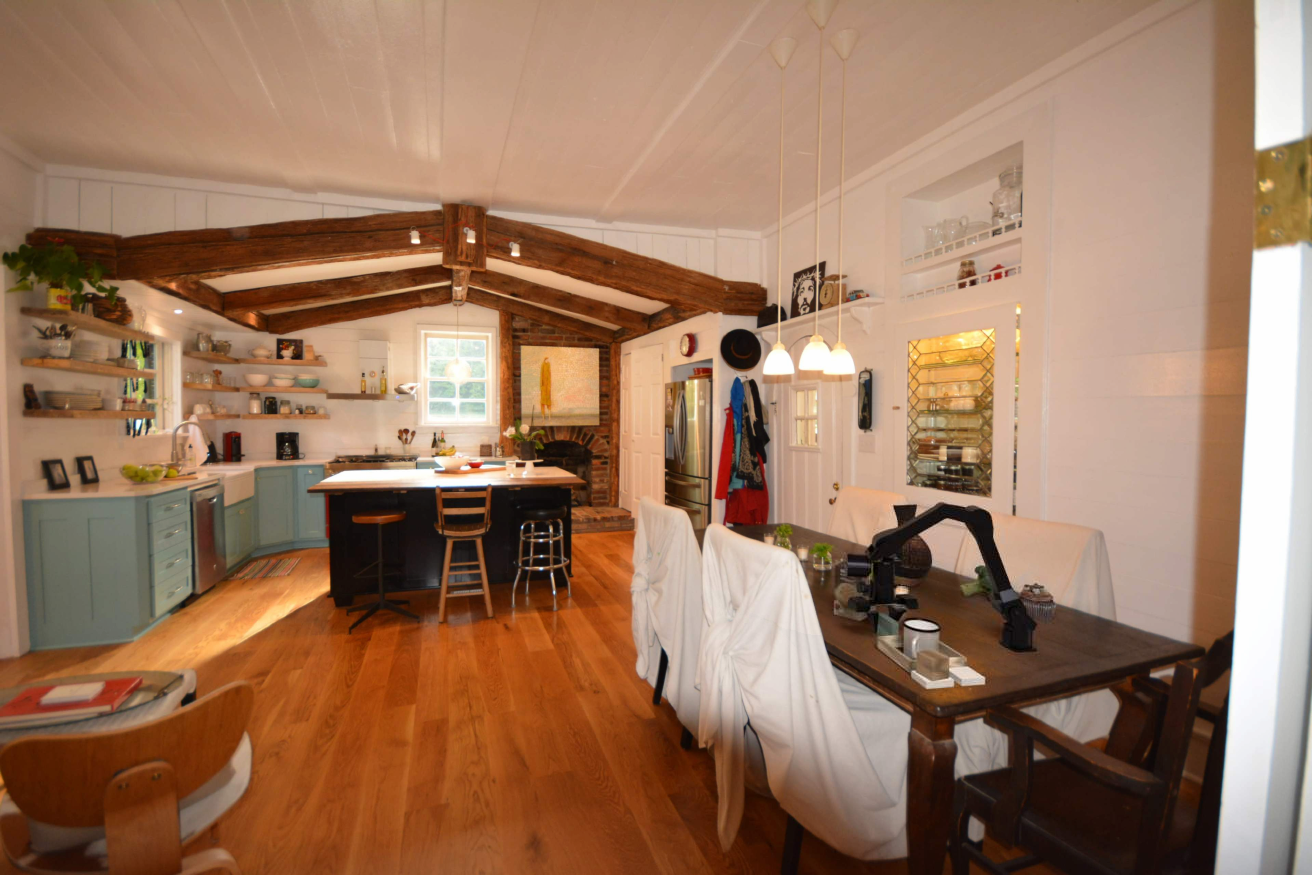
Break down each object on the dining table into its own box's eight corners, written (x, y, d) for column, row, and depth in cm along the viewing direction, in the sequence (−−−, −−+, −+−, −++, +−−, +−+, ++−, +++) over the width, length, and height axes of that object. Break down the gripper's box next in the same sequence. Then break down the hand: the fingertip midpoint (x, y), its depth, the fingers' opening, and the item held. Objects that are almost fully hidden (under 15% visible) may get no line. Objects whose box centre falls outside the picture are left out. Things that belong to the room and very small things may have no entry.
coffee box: (832, 614, 183) (833, 564, 183) (841, 609, 188) (842, 560, 187) (860, 621, 177) (861, 569, 176) (869, 616, 182) (870, 565, 181)
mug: (906, 647, 158) (907, 614, 158) (944, 656, 152) (945, 622, 152) (893, 662, 149) (894, 627, 148) (933, 672, 143) (934, 636, 142)
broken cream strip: (967, 672, 142) (967, 666, 142) (984, 684, 137) (985, 677, 136) (911, 677, 140) (911, 670, 140) (926, 688, 134) (926, 682, 134)
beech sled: (909, 632, 168) (909, 610, 167) (966, 669, 144) (967, 644, 143) (860, 635, 165) (861, 613, 165) (910, 673, 141) (911, 648, 141)
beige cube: (932, 669, 141) (933, 649, 141) (949, 678, 136) (949, 657, 136) (916, 672, 139) (916, 651, 139) (932, 681, 135) (932, 660, 134)
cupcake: (1043, 624, 175) (1044, 591, 174) (1012, 613, 184) (1013, 582, 183) (1063, 619, 179) (1064, 587, 178) (1031, 609, 188) (1032, 578, 187)
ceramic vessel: (920, 595, 202) (922, 510, 201) (871, 585, 214) (872, 504, 212) (939, 582, 217) (941, 502, 216) (892, 573, 229) (893, 498, 228)
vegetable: (959, 582, 210) (1003, 568, 203) (974, 615, 201) (1020, 602, 195) (950, 568, 202) (995, 554, 196) (964, 602, 193) (1012, 587, 187)
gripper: (897, 569, 173) (897, 620, 174) (839, 571, 170) (838, 624, 171) (920, 579, 162) (919, 634, 163) (857, 583, 159) (857, 638, 160)
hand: (882, 632), depth 164 cm, fingers open, 4 cm apart
